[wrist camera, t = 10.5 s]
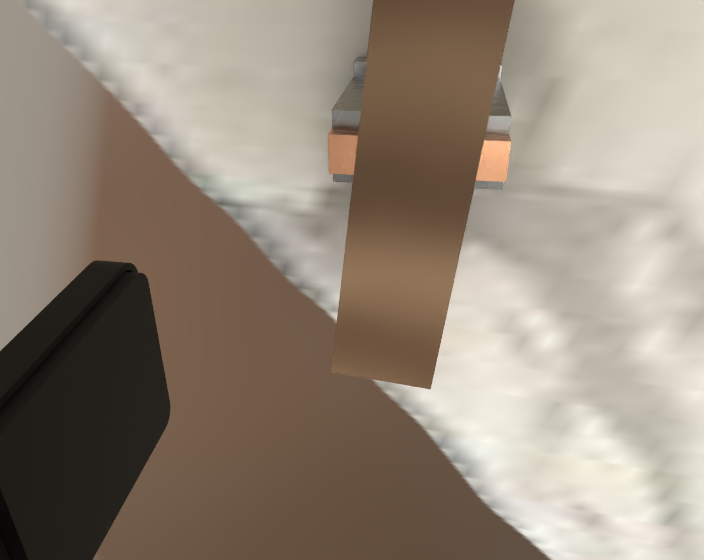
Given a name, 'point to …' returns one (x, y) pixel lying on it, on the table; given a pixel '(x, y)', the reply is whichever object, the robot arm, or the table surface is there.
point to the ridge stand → (347, 129)
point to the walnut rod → (414, 180)
